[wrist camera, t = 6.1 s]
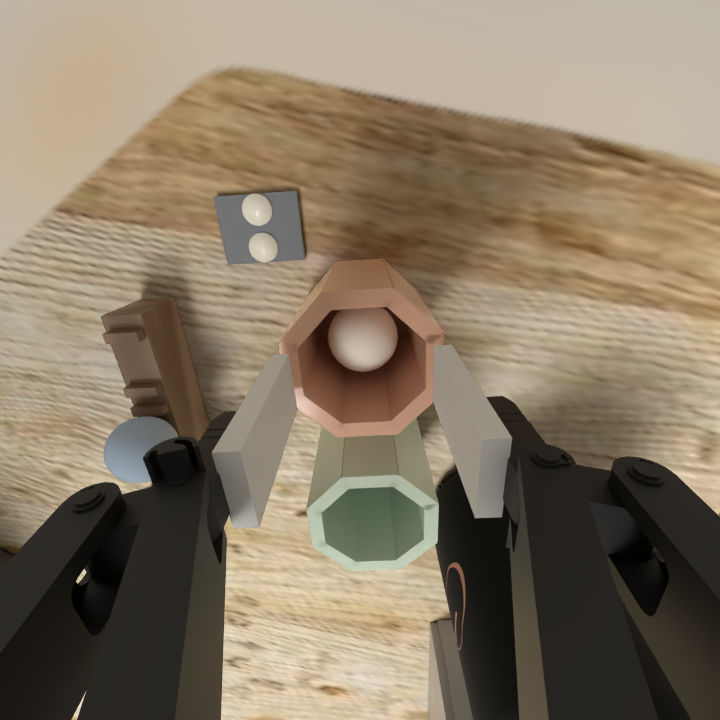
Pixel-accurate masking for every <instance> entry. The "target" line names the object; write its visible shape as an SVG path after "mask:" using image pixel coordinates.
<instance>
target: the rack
mask: <svg viewBox="0 0 720 720" xmlns="http://www.w3.org/2000/svg"><path fill="white" fill-rule="evenodd" d="M101 319H102V322H103V325H104V328H105V330H106V333H104V334H102V335H103V337H104V340H105V343H106V344H111V346H112V349H113V352H114V354H115V357H116V360H117V362H118V365H119V368H120V370H121V373H122V376H123V378H124V381H125V384H126V387H125V388H124V389H123V390H124V393H125V396H126V398H131V400H132V403H133V405H134V406H133V407H132V408H131V412H132V414H133V417H143V416H151V417H157V418H160V419H162V420H164V421H166V422H168V423H169V424H170V425H171V426H172V427H173V428H174V429H175V431H176V432H177V434H178V437H183V436H186V437H193V438H194V439H196V440H197V441H199V440H200V439H201V437H202V435H203V434H204V432H205V431H207V428H208V427H209V425H210V423H209V420H208V416H207V413H206V409H205V406H204V402H203V398H202V395H201V391H200V388H199V384H198V380H197V377H196V373H195V370H194V366H193V363H192V359H191V355H190V352H189V348H188V345H187V341H186V337H185V334H184V330H183V327H182V323H181V320H180V316H179V312H178V309H177V305H176V302H175V298H160V299H145V300H138V301H136V302H134V303H131V304H129V305H127V306H124V307H122V308H119V309H117V310H115V311H112V312H110V313H108V314H105V315H103V316H101Z"/></svg>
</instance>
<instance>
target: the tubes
mask: <svg viewBox="0 0 720 720" xmlns="http://www.w3.org/2000/svg"><path fill="white" fill-rule="evenodd" d="M214 200H215V205H216V210H217V214H218V219H219V224H220V229H221V234H222V238H223V243H224V248H225V253H226V257H227V262H228V265H229V264H244V263H259V262H274V261H289V260H304V259H306V258H305V250H304V242H303V234H302V226H301V217H300V209H299V201H298V193H297V191H285V192H271V193H257V194H244V195H230V196H216V197H214ZM375 307H382V308H383V309H385V310H386V311H387V312H388V313H389V314H390V315H391V317H392V318H393V320H394V322H395V324H396V328H397V334H398V341H397V346H396V349H395V351H394V353H393V355H392V357H391V358H390V359H389V360H388V361H387V362H386V363H385V364H384V365H383V366H381V367H379V368H377V369H375V370H372V371H366V372H360V371H354V370H351V369H348V368H346V367H344V366H343V365H342V364H340V363H339V362H338V361H337V360H336V358H335V357H334V356H333V354H332V352H331V350H330V347H329V343H328V330H329V326H330V324H331V321H332V320H333V318H334V316H335V315H336V314H337V313H338V312H339V311H340V310H342V309H359V308H375ZM434 345H444V332H443V331H442V329H441V328H440V326H439V325H438V323H437V321H436V320H435V318H434V317H433V315H432V314H431V312H430V310H429V309H428V307H427V306H426V304H425V303H424V301H423V300H422V298H421V296H420V295H419V293H418V292H417V290H416V289H415V288H414V287H413V286H412V285H411V284H410V283H409V282H408V281H407V280H406V279H404V278H403V277H402V276H401V275H400V274H399V273H398V272H397V271H396V270H395V269H394V268H393V267H392V266H390V265H389V264H388V263H387V262H386V261H385V260H384V259H382V258H380V259H364V260H349V261H336V262H335V263H334V264H333V266H332V267H331V268H330V269H329V270H328V272H327V273H326V274H325V275H324V276H323V278H322V279H321V280H320V281H319V282H318V284H317V285H316V286H315V287H314V288H313V290H312V291H311V292H310V293H309V295H308V296H307V297H306V299H305V301H304V302H303V304H302V306H301V307H300V309H299V310H298V312H297V314H296V315H295V317H294V319H293V320H292V322H291V324H290V325H289V327H288V329H287V330H286V332H285V333H284V335H283V337H282V338H281V340H280V342H279V350H280V354H289V359H290V365H291V371H292V378H293V384H294V390H295V397H296V403H297V409H298V410H300V411H301V412H302V413H304V414H305V415H307V416H308V417H309V418H311V419H312V420H314V421H315V422H316V423H318V424H319V425H321V426H322V428H321V433H320V439H319V444H318V450H317V455H316V461H315V466H314V472H313V477H312V482H311V488H310V493H309V499H308V504H307V516H308V522H309V528H310V534H311V540H312V546H313V548H314V549H316V550H317V551H319V552H321V553H322V554H324V555H326V556H328V557H329V558H331V559H333V560H334V561H336V562H338V563H339V564H341V565H343V566H344V567H346V568H348V569H349V570H351V571H363V570H390V569H402V568H403V567H405V566H406V565H408V564H409V563H410V562H412V561H413V560H415V559H416V558H417V557H419V556H420V555H421V554H423V553H424V552H426V551H427V550H428V549H430V548H431V547H432V546H434V545H435V544H437V542H438V514H439V503H438V499H437V495H436V491H435V487H434V483H433V479H432V476H431V472H430V468H429V464H428V460H427V456H426V452H425V448H424V444H423V440H422V437H421V433H420V429H419V425H418V421H417V417H418V416H419V415H420V414H421V413H422V412H423V411H424V410H426V409H427V408H428V407H429V406H430V405H431V404H432V403H433V372H434Z"/></svg>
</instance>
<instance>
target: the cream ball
mask: <svg viewBox="0 0 720 720" xmlns="http://www.w3.org/2000/svg"><path fill="white" fill-rule="evenodd" d="M397 341H398V334H397V328H396V324H395V322H394V320H393V318H392V317H391V315H390V314H389V313H388V312H387V311H386V310H385V309H383V308H382V307H375V308H359V309H342V310H340V311H339V312H338V313H337V314H336V315H335V316H334V318H333V320H332V321H331V324H330V326H329V330H328V343H329V347H330V350H331V352H332V354H333V356H334V357H335V358H336V360H337V361H338V362H339V363H340V364H342V365H343V366H344V367H346V368H348V369H351V370H354V371H360V372H366V371H372V370H375V369H377V368H379V367H381V366H383V365H384V364H385V363H386V362H387V361H388V360H389V359H390V358H391V357H392V355H393V353H394V351H395V349H396V346H397Z"/></svg>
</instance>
